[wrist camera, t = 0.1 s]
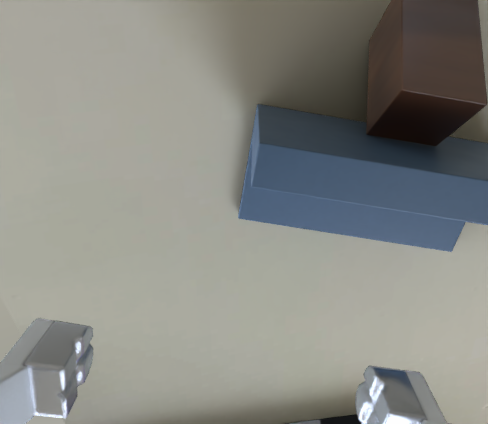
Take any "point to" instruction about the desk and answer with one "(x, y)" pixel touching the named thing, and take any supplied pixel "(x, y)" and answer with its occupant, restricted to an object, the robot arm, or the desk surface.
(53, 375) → the robot arm
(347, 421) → the book
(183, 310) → the desk surface
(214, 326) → the desk surface
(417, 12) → the walnut block
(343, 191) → the bookend
